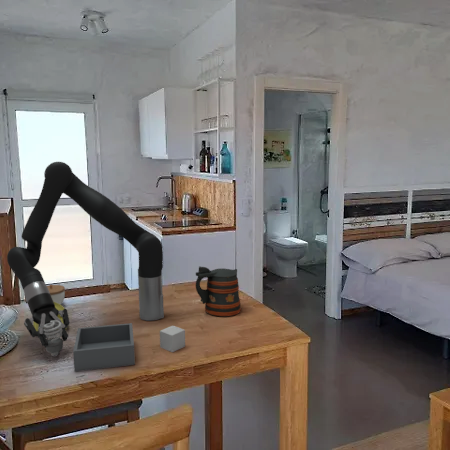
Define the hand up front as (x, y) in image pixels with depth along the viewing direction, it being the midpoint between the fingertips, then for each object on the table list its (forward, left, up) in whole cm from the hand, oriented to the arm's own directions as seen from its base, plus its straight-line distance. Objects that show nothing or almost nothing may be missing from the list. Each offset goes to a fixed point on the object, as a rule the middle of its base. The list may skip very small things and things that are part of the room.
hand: (56, 342), depth 145 cm
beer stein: (-59, -28, -6) cm, 65 cm away
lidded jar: (+8, -51, -6) cm, 51 cm away
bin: (-15, +1, -5) cm, 16 cm away
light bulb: (+1, -2, -5) cm, 6 cm away
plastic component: (+5, -29, -6) cm, 30 cm away
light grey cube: (-37, 0, -6) cm, 38 cm away
